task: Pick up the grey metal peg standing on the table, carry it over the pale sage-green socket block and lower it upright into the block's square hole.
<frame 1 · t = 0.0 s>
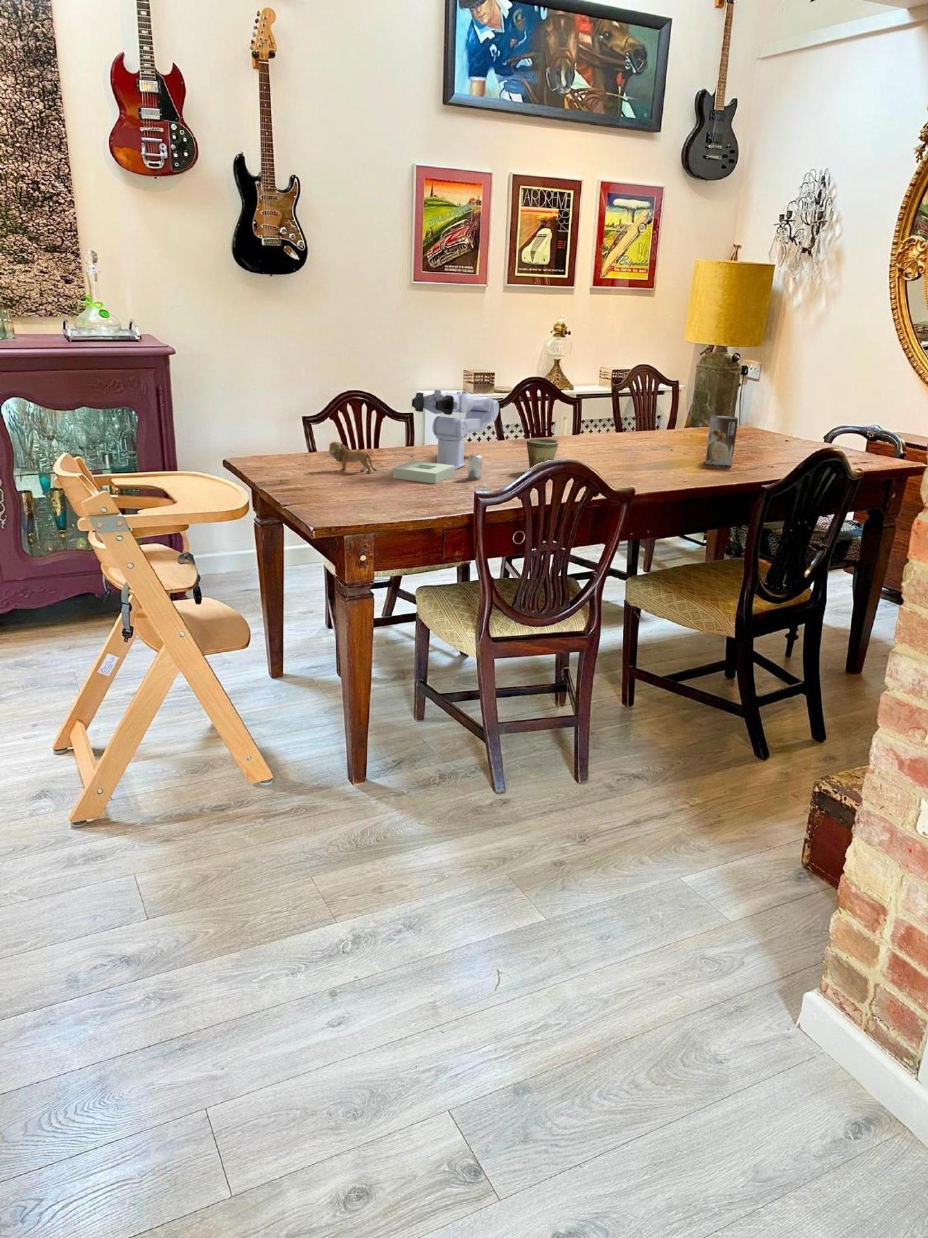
hand: (424, 403, 256), 22 cm above the table, tool horizontal, fingers open, 7 cm apart
socket block: (424, 476, 265), on the table
peg: (474, 478, 265), on the table
coffee box: (717, 464, 305), on the table
lion figurine: (351, 472, 267), on the table
ceramic cup: (540, 472, 279), on the table
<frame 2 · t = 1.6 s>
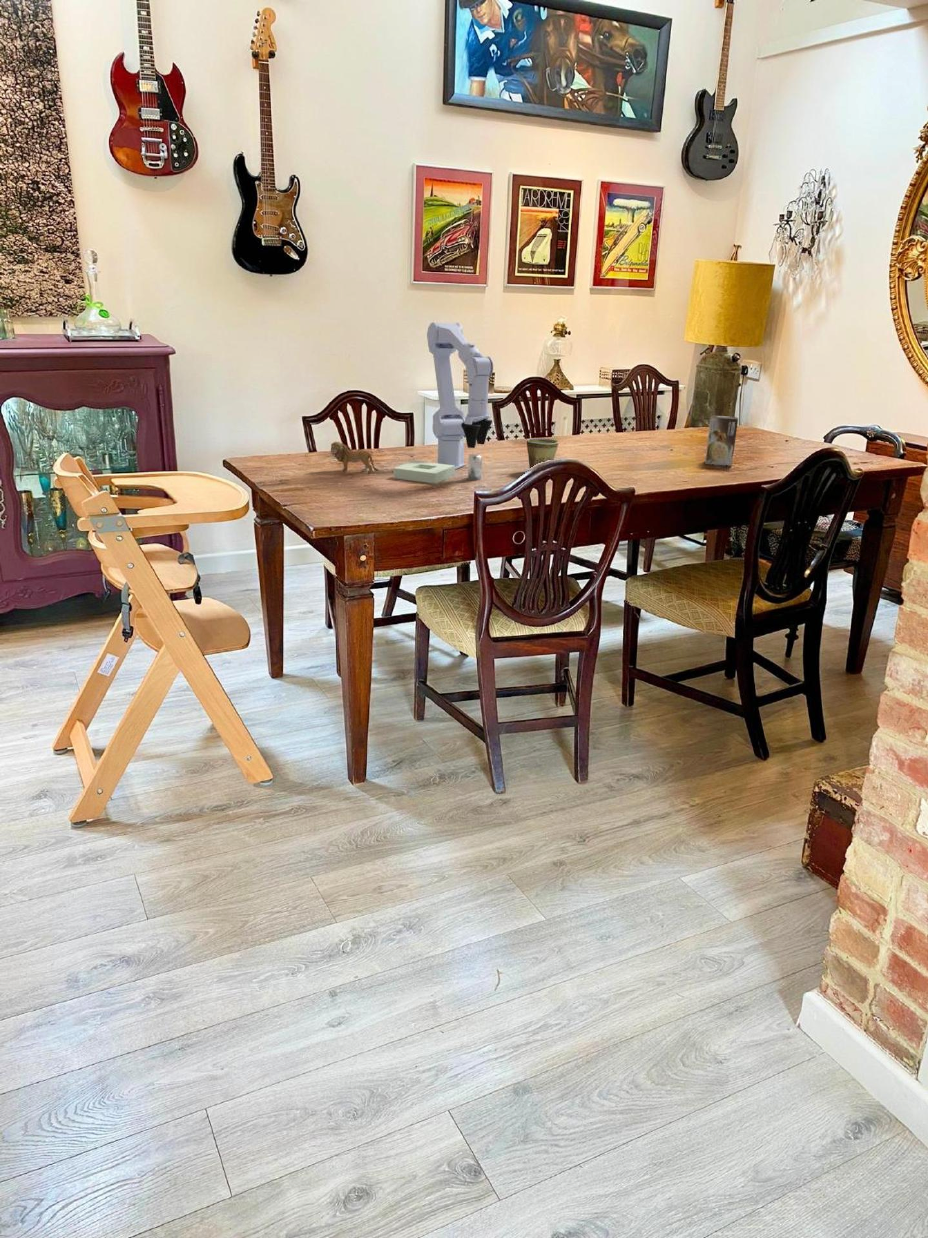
hand: (475, 445, 261), 10 cm above the table, tool pointing down, fingers open, 7 cm apart
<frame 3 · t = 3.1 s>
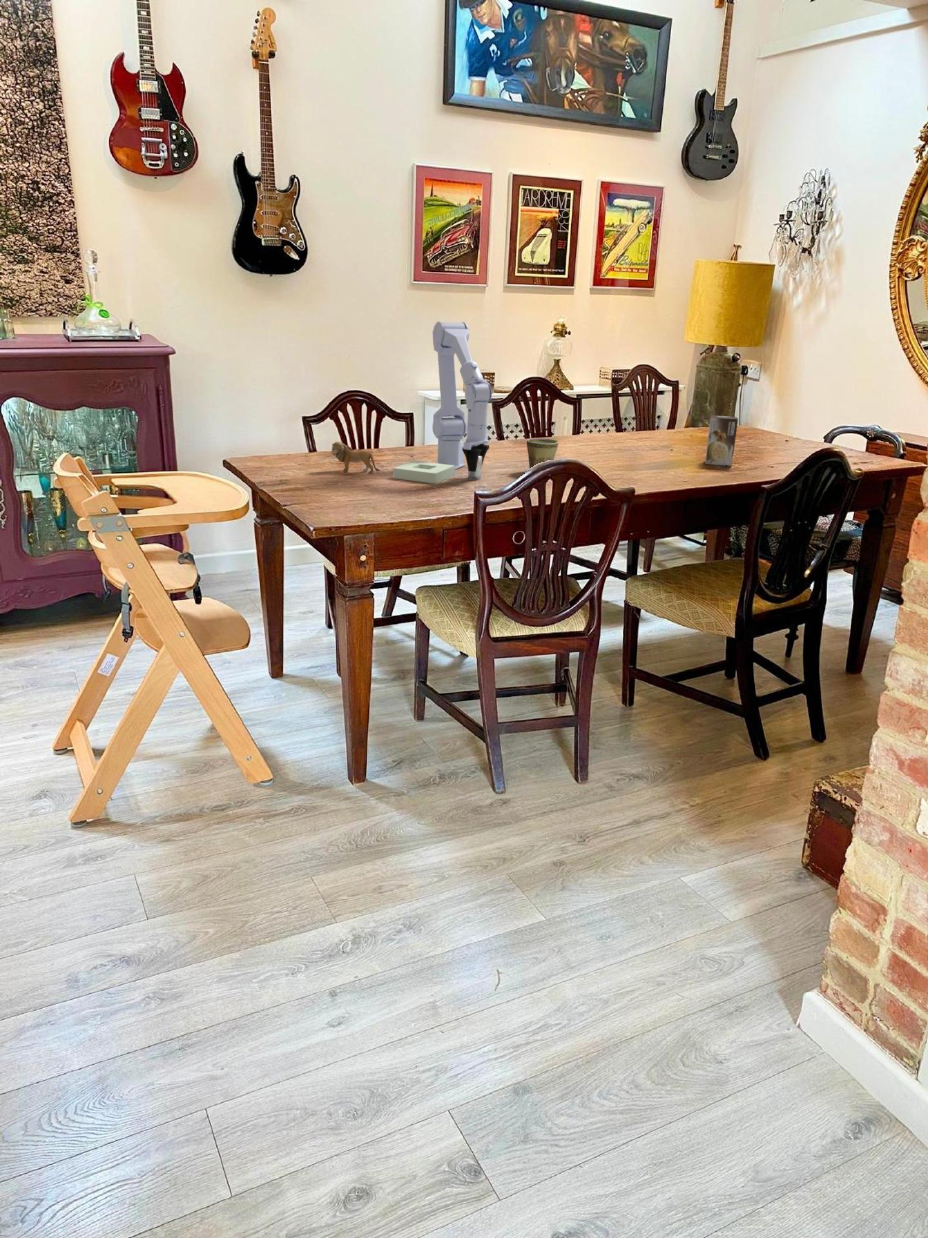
hand: (474, 469, 264), 3 cm above the table, tool pointing down, fingers closed on peg, 4 cm apart
peg: (474, 478, 265), on the table, touching gripper
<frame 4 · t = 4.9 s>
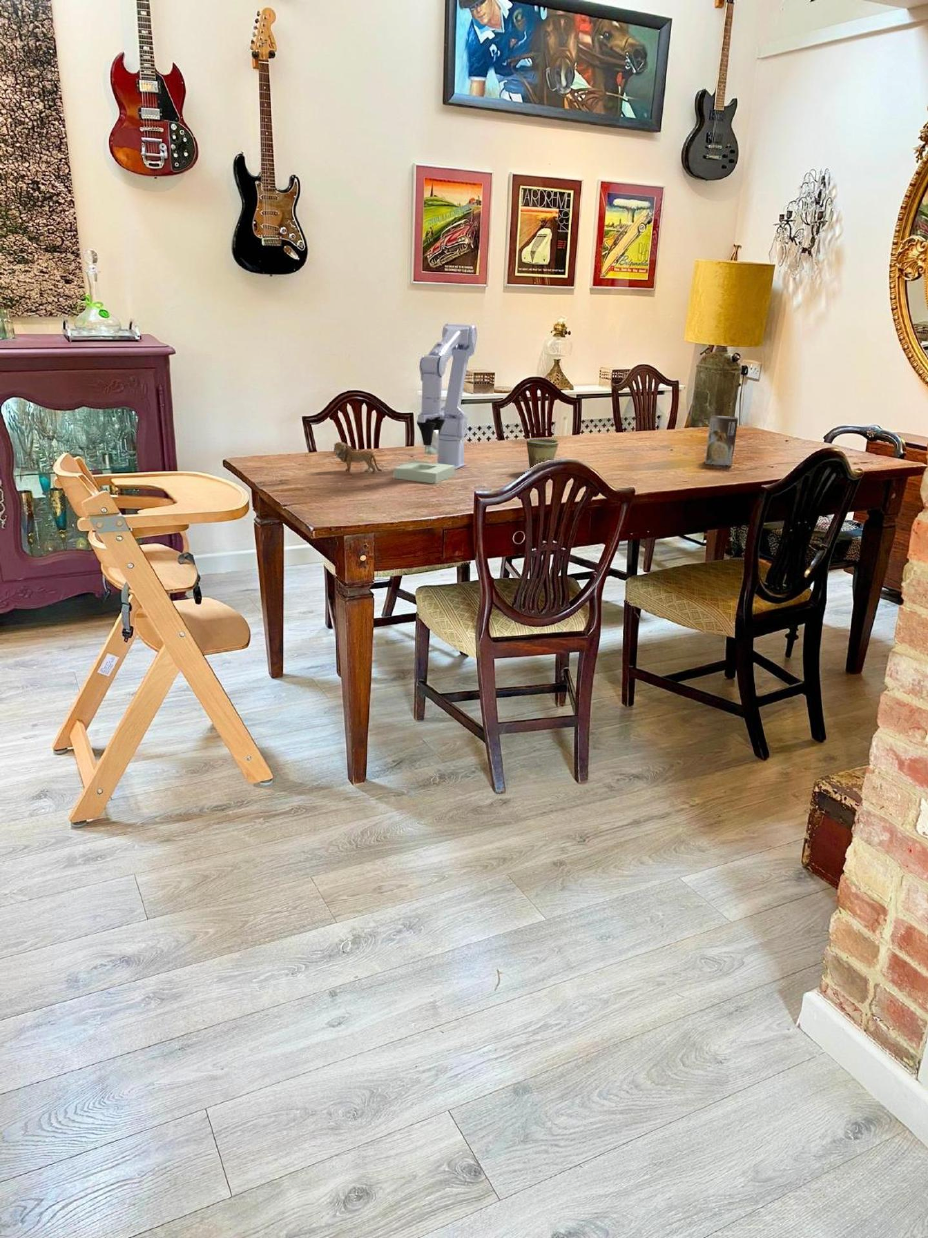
hand: (430, 443, 261), 10 cm above the table, tool pointing down, fingers closed on peg, 4 cm apart
peg: (431, 453, 262), point 7 cm above the table, touching gripper
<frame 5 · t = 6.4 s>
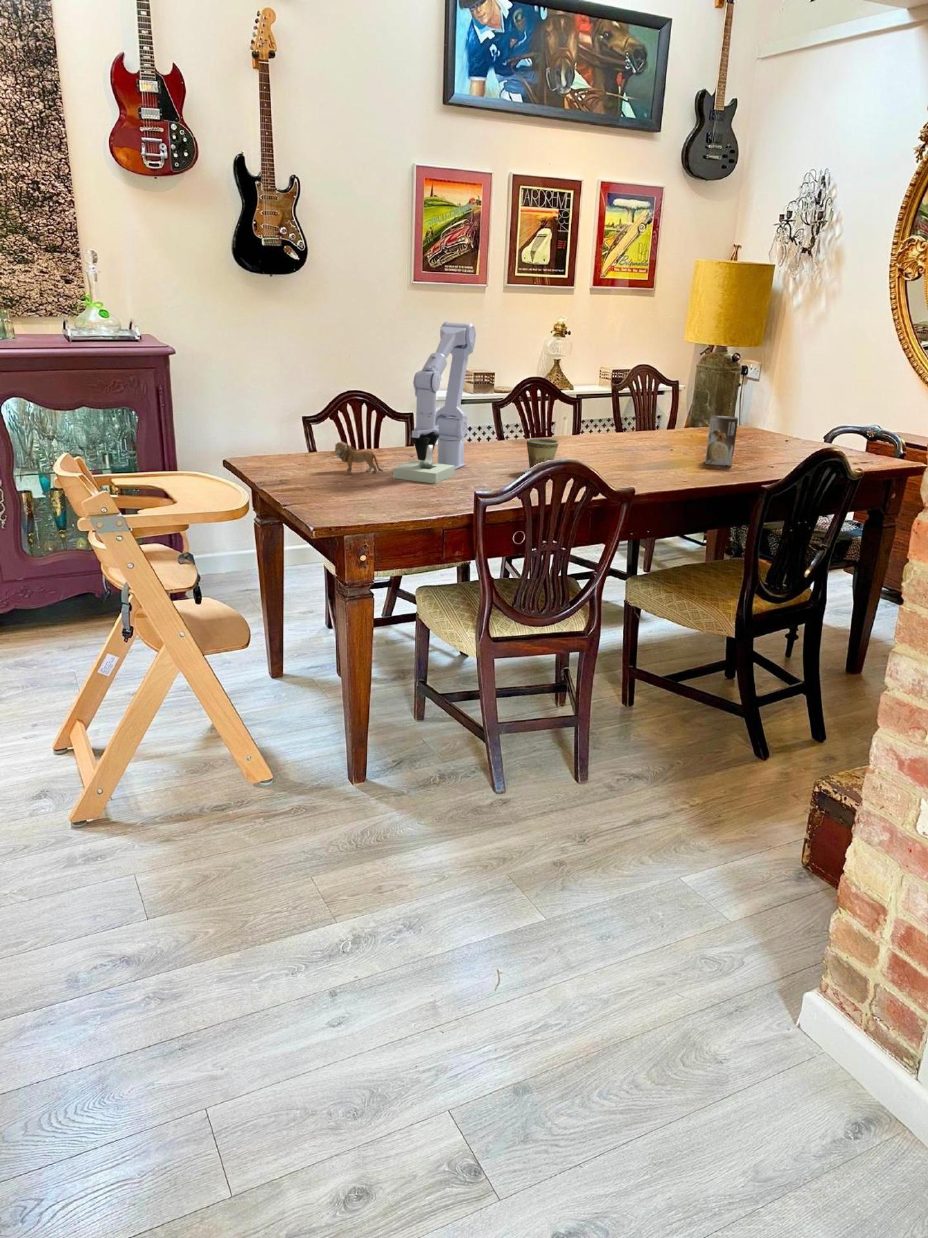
hand: (424, 458, 263), 5 cm above the table, tool pointing down, fingers closed on peg, 4 cm apart
peg: (425, 467, 264), point 3 cm above the table, touching gripper
when the fingers open (4 cm above the table, at t = 7.2 s): peg drops 1 cm, resting in socket block.
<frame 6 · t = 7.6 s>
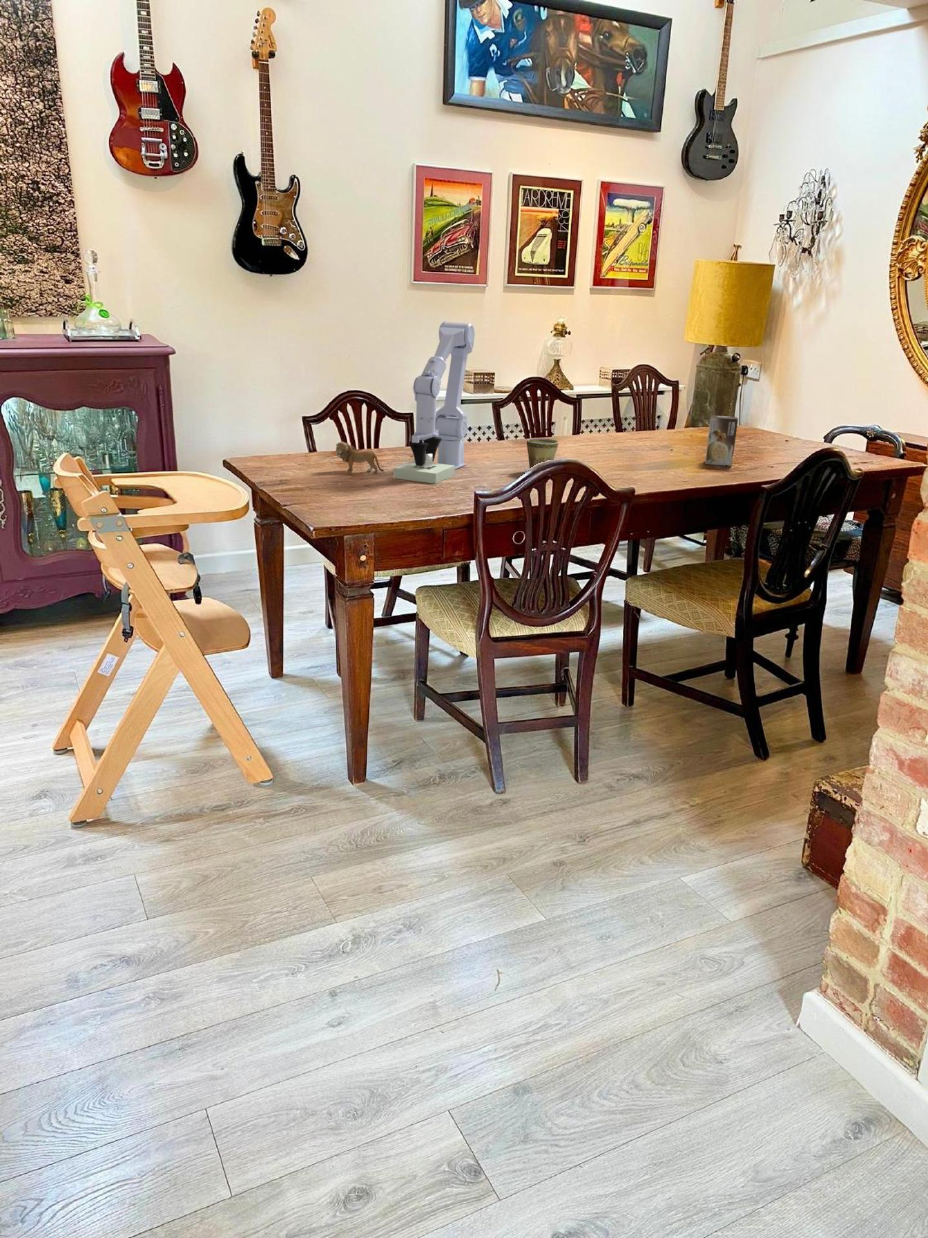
hand: (424, 463, 263), 4 cm above the table, tool pointing down, fingers open, 7 cm apart
peg: (425, 476, 265), resting in socket block
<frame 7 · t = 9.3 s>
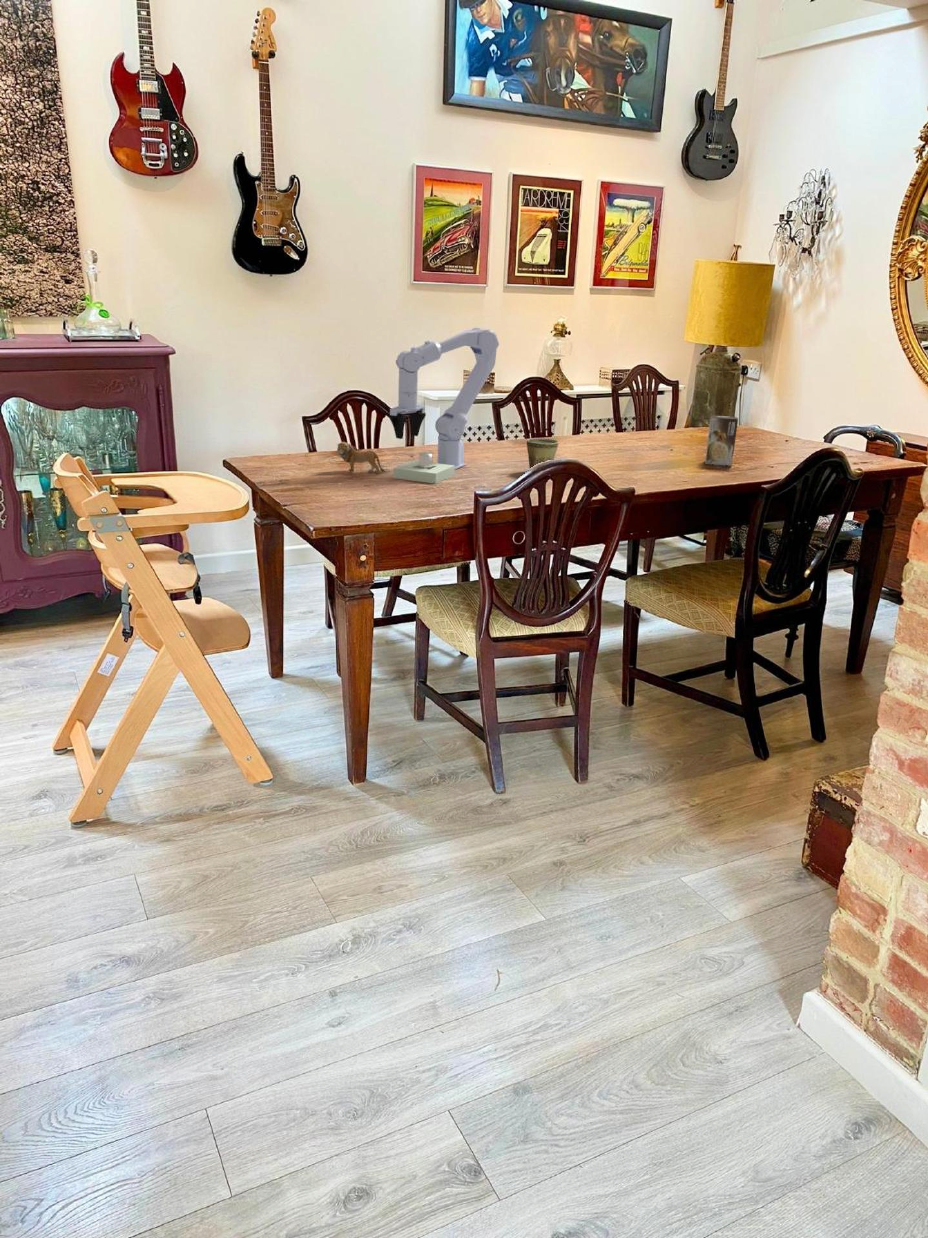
hand: (407, 436, 271), 10 cm above the table, tool pointing down, fingers open, 7 cm apart
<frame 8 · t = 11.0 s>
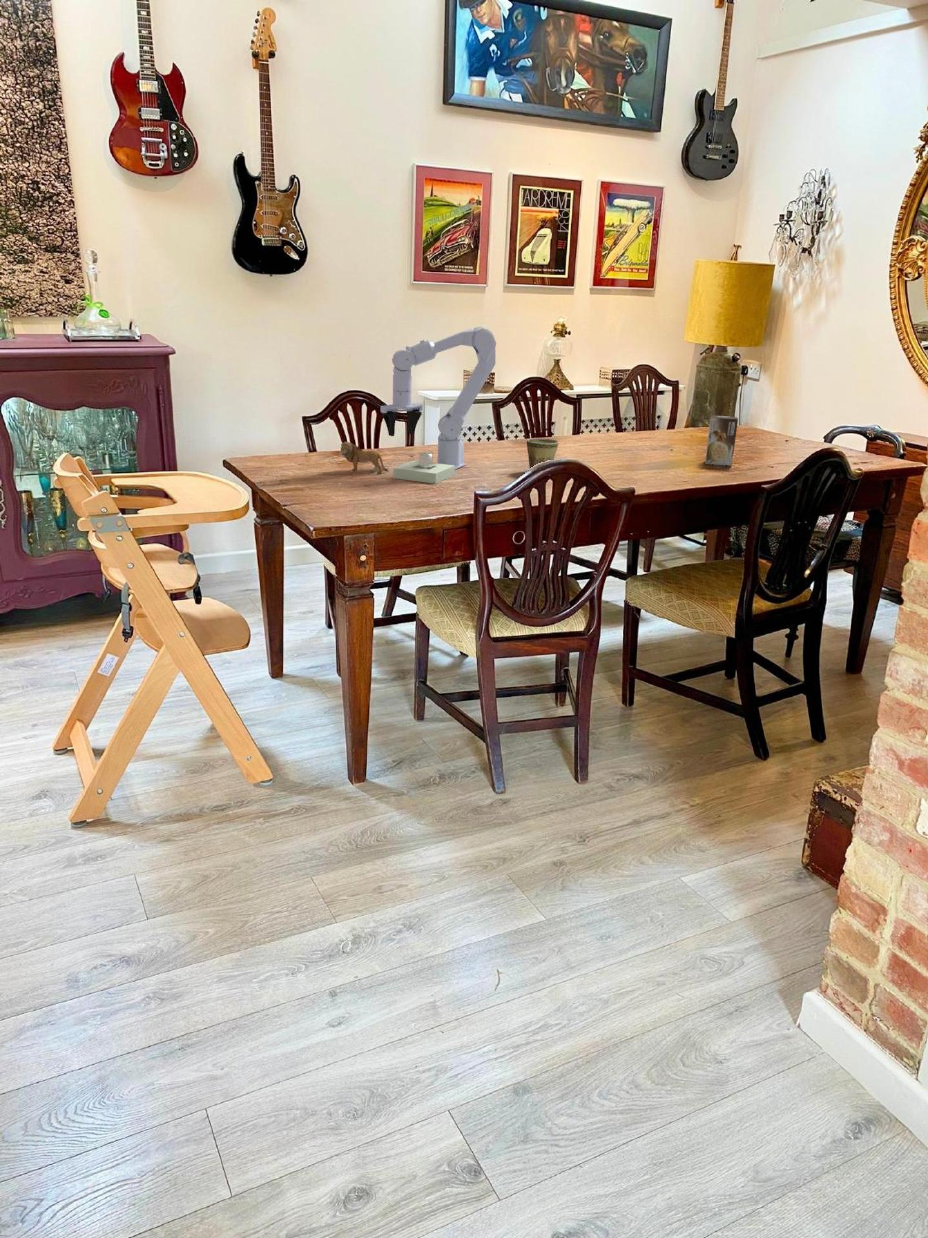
hand: (401, 434, 274), 10 cm above the table, tool pointing down, fingers open, 7 cm apart
at the end: peg 0.3 cm off-centre on the socket block, point 0.0 cm above the socket block's base; peg tilted 0°; the gripper is holding nothing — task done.
